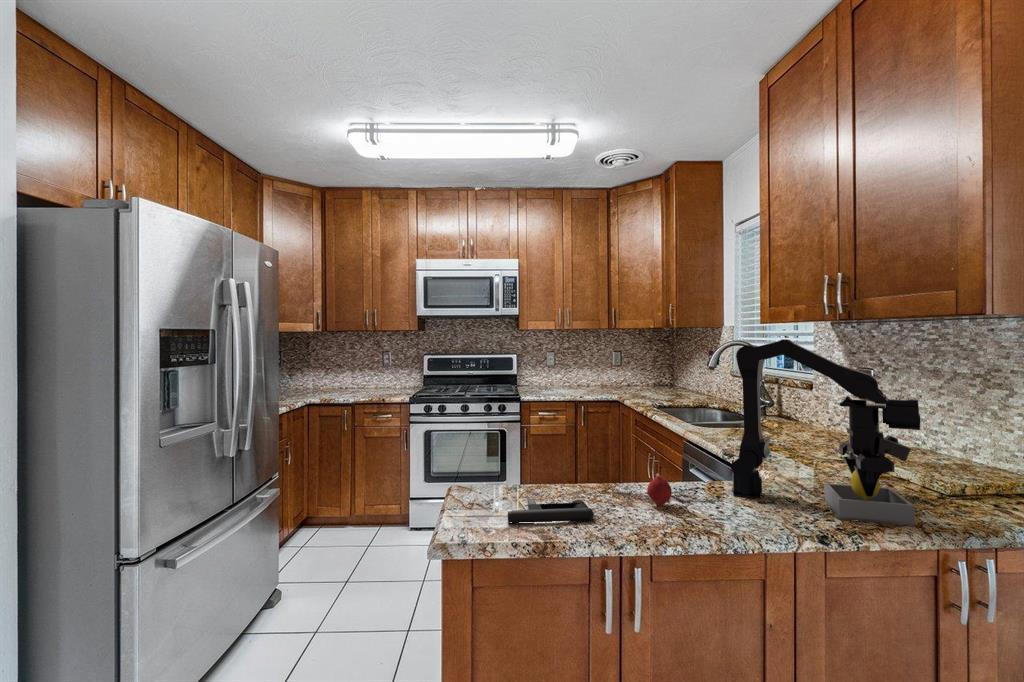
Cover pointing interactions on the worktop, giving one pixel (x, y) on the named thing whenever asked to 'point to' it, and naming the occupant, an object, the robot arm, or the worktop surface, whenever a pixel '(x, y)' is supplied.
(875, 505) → the box
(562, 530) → the worktop surface
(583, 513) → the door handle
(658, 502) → the onion
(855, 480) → the lemon
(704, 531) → the worktop surface
